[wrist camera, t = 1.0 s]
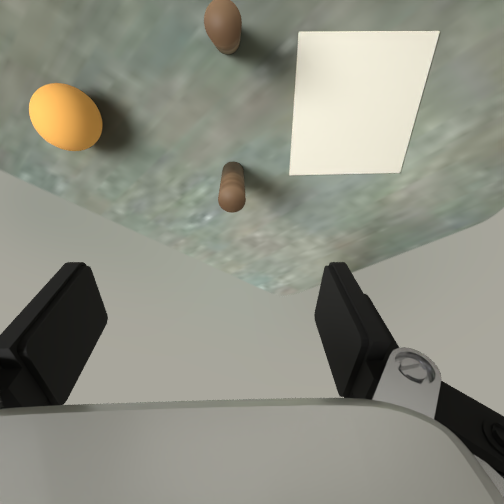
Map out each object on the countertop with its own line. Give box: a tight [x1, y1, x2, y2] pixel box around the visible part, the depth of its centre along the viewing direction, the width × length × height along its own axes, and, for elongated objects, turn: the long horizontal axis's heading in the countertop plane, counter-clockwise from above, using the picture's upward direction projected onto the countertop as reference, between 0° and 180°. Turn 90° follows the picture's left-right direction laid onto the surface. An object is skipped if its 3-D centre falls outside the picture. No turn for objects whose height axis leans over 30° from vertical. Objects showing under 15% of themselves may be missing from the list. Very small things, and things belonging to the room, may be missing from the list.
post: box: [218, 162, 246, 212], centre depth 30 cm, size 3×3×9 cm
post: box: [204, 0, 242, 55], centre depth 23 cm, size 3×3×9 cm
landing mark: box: [289, 31, 440, 175], centre depth 31 cm, size 14×14×1 cm
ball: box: [29, 83, 102, 151], centre depth 27 cm, size 6×6×6 cm
